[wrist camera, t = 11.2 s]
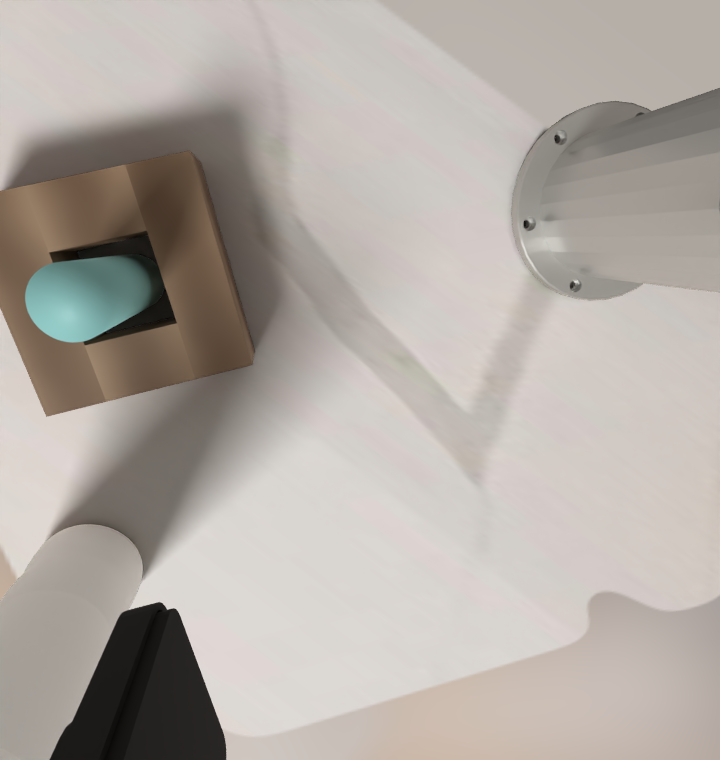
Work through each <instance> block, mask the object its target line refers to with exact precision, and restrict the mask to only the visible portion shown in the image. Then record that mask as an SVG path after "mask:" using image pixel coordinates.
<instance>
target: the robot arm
mask: <svg viewBox="0 0 720 760" xmlns="http://www.w3.org/2000/svg"><path fill="white" fill-rule="evenodd" d="M554 137H556V139H557V142H556V143H555V140H554ZM511 215H512V227H513V234H514V237H515V241H516V245H517V248H518V251H519V253H520V255H521V257H522V259H523V261H524V263H525V265H526V266H527V267H528V268H529V270H530V271H531V272H532V274H533V275H534V276H535V277H536V278H537V279H538V280H539V281H540V282H542V283H543V284H544V285H545V286H546V287H548V288H550V289H552V290H553V291H555V292H557V293H559V294H561V295H565V296H569V297H572V298H576V299H583V300H606V299H610V298H614V297H618V296H622V295H624V294H626V293H628V292H630V291H632V290H634V289H637V288H638V287H639V286H641V285H642V284H652V285H660V286H669V287H677V288H685V289H694V290H702V291H710V292H719V293H720V88H718V89H715V90H712V91H710V92H707V93H704V94H701V95H698V96H695V97H692V98H689V99H686V100H683V101H681V102H678V103H675V104H672V105H669V106H666V107H663V108H660V109H657V110H655V111H650V110H649V109H647V108H644V107H641V106H638V105H636V104H633V103H627V102H619V101H611V102H603V103H596V104H593V105H590V106H587V107H584V108H581V109H579V110H577V111H575V112H573V113H571V114H569V115H567V116H565V117H563V118H562V119H561V120H559V121H558V122H556V123H555V124H554V125H552V126H551V127H550V128H549V129H548V130H547V131H546V132H545V133H544V134H543V135H542V136H541V137H540V138H539V139H538V140H537V141H536V143H535V144H534V146H533V147H532V149H531V150H530V152H529V153H528V155H527V156H526V158H525V160H524V163H523V165H522V167H521V169H520V172H519V174H518V177H517V181H516V184H515V188H514V192H513V200H512V211H511ZM524 221H526V223H527V224H526V227H525V228H524V226H523V223H524ZM570 283H572V284H571V287H570ZM50 760H226V744H225V738H224V734H223V731H222V728H221V726H220V723H219V720H218V717H217V715H216V712H215V709H214V707H213V704H212V701H211V698H210V696H209V693H208V690H207V688H206V685H205V682H204V680H203V677H202V674H201V671H200V669H199V666H198V663H197V661H196V658H195V655H194V652H193V650H192V647H191V644H190V642H189V639H188V636H187V634H186V631H185V628H184V625H183V623H182V620H181V617H180V615H179V613H178V611H177V610H176V609H174V608H173V609H169V610H167V609H166V607H165V606H164V605H163V603H160V602H158V603H154V604H150V605H146V606H142V607H139V608H135V609H131V610H127V611H124V612H122V613H121V614H120V616H119V618H118V620H117V622H116V624H115V626H114V629H113V631H112V633H111V635H110V638H109V640H108V642H107V644H106V647H105V649H104V651H103V653H102V656H101V658H100V660H99V662H98V665H97V667H96V669H95V671H94V674H93V676H92V678H91V680H90V683H89V685H88V687H87V689H86V692H85V694H84V696H83V698H82V701H81V703H80V705H79V707H78V710H77V712H76V714H75V716H74V719H73V721H72V722H71V723H70V724H69V725H68V726H66V728H65V729H64V731H63V733H62V735H61V736H60V738H59V740H58V742H57V744H56V747H55V749H54V751H53V753H52V755H51V758H50Z"/></svg>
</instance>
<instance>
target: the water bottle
mask: <svg viewBox="0 0 720 760" xmlns="http://www.w3.org/2000/svg"><path fill="white" fill-rule="evenodd" d="M142 575H143V564H142V559H141V556H140V554H139V551H138V550H137V548H136V547H135V545H134V544H133V543H132V542H131V541H130V540H129V539H128V538H127V537H126V536H125V535H123V534H122V533H120V532H118V531H116V530H114V529H112V528H109V527H106V526H102V525H95V524H83V525H76V526H72V527H69V528H66V529H63V530H61V531H59V532H57V533H56V534H54V535H53V536H52V537H50V538H49V539H48V540H47V541H46V542H45V543H44V544H43V545H42V546H41V547H40V549H39V550H38V551H37V553H36V554H35V555H34V557H33V558H32V560H31V561H30V563H29V564H28V566H27V568H26V569H25V571H24V573H23V575H22V576H21V577H19V578H18V579H17V581H16V582H15V583H14V584H13V585H12V586H11V587H10V589H9V590H8V591H7V592H6V594H5V595H4V596H3V598H2V599H1V601H0V760H50V758H51V755H52V753H53V751H54V749H55V747H56V744H57V742H58V740H59V738H60V736H61V735H62V733H63V731H64V729H65V728H66V726H68V725H69V724H70V723H71V722H72V721H73V719H74V716H75V714H76V712H77V710H78V707H79V705H80V703H81V701H82V698H83V696H84V694H85V692H86V689H87V687H88V685H89V683H90V680H91V678H92V676H93V674H94V671H95V669H96V667H97V665H98V662H99V660H100V658H101V656H102V653H103V651H104V649H105V647H106V644H107V642H108V640H109V638H110V635H111V633H112V631H113V629H114V626H115V624H116V622H117V620H118V618H119V616H120V614H121V613H122V612H124V611H127V610H129V608H130V606H131V604H132V602H133V600H134V598H135V596H136V594H137V592H138V589H139V586H140V584H141V580H142Z"/></svg>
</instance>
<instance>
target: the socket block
mask: <svg viewBox="0 0 720 760" xmlns="http://www.w3.org/2000/svg"><path fill="white" fill-rule="evenodd" d="M145 235H148V236H149V239H150V242H151V245H152V248H153V251H154V255H155V258H156V261H157V264H158V267H159V270H160V273H161V276H162V279H163V282H164V285H165V288H166V291H167V294H168V297H169V300H170V303H171V306H172V309H173V313H174V316H175V317H173V318H169V319H165V320H161V321H157V322H153V323H148V324H144V325H140V326H136V327H132V328H128V329H123V330H119V331H115V332H111V333H107V332H106V331H105V332H103V333H101V334H99V335H98V336H96V337H94V338H92V339H90V340H87V341H83V342H64V341H60V340H57V339H55V338H52V337H50V336H49V335H47V334H45V333H44V332H43V331H42V330H40V329H39V328H38V327H37V326H36V324H35V323H34V322H33V320H32V319H31V317H30V315H29V313H28V310H27V307H26V302H25V293H26V288H27V285H28V282H29V281H30V279H31V277H32V276H33V275H34V274H35V273H36V272H37V271H38V270H39V269H41V268H42V267H44V266H46V265H48V264H51V263H56V262H63V261H72V260H80V259H79V257H78V254H77V251H79V250H83V249H88V248H92V247H97V246H101V245H105V244H110V243H114V242H119V241H123V240H128V239H132V238H136V237H141V236H145ZM0 308H1V310H2V313H3V315H4V318H5V320H6V322H7V325H8V327H9V329H10V332H11V334H12V336H13V339H14V341H15V343H16V346H17V348H18V351H19V353H20V355H21V358H22V360H23V362H24V365H25V367H26V369H27V372H28V374H29V377H30V379H31V381H32V384H33V386H34V388H35V391H36V393H37V395H38V398H39V400H40V403H41V405H42V407H43V410H44V412H45V414H46V417H47V416H51V415H55V414H59V413H63V412H67V411H71V410H75V409H79V408H83V407H87V406H91V405H95V404H99V403H103V402H107V401H111V400H115V399H119V398H122V397H126V396H130V395H134V394H138V393H142V392H146V391H150V390H154V389H158V388H162V387H166V386H170V385H174V384H178V383H182V382H186V381H190V380H194V379H198V378H202V377H206V376H210V375H214V374H218V373H222V372H226V371H230V370H234V369H238V368H242V367H246V366H249V365H252V363H253V358H254V353H255V350H254V346H253V343H252V340H251V336H250V333H249V329H248V326H247V322H246V319H245V315H244V312H243V308H242V305H241V301H240V298H239V294H238V291H237V287H236V284H235V281H234V277H233V274H232V270H231V267H230V263H229V260H228V256H227V253H226V249H225V246H224V242H223V239H222V235H221V232H220V228H219V225H218V222H217V218H216V215H215V211H214V208H213V204H212V201H211V197H210V194H209V190H208V187H207V183H206V180H205V176H204V173H203V170H202V166H201V163H200V161H199V160H198V159H197V158H196V157H195V156H194V155H193V154H192V153H191V152H190V151H185V152H181V153H176V154H171V155H167V156H162V157H157V158H153V159H148V160H143V161H138V162H134V163H129V164H124V165H120V166H115V167H110V168H106V169H101V170H96V171H92V172H87V173H82V174H77V175H73V176H68V177H63V178H59V179H54V180H49V181H45V182H40V183H35V184H31V185H26V186H21V187H16V188H12V189H7V190H2V191H0Z"/></svg>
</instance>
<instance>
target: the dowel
mask: <svg viewBox="0 0 720 760" xmlns="http://www.w3.org/2000/svg"><path fill="white" fill-rule="evenodd" d="M163 291H164V282H163V279H162V276H161V273H160V270H159V267H158V266H157V265H156V264H155V263H154V262H153V261H152V260H151V259H149V258H147V257H145V256H142V255H139V254H126V255H117V256H108V257H99V258H90V259H81V260H72V261H63V262H56V263H51V264H48V265H46V266H44V267H42V268H41V269H39V270H38V271H37V272H36V273H35V274H34V275H33V276H32V277H31V279H30V281H29V282H28V285H27V288H26V293H25V302H26V307H27V310H28V313H29V315H30V317H31V319H32V320H33V322H34V323H35V324H36V326H37V327H38V328H39V329H40V330H42V331H43V332H44V333H45V334H47V335H49V336H50V337H52V338H55V339H57V340H60V341H64V342H83V341H87V340H90V339H92V338H94V337H96V336H98V335H99V334H101V333H103V332H105V331H107V330H109V329H110V328H112V327H114V326H116V325H118V324H119V323H121V322H123V321H125V320H127V319H129V318H130V317H132V316H134V315H136V314H138V313H140V312H141V311H143V310H145V309H147V308H149V307H150V306H152V305H154V304H155V303H156V302H157V301H158V300H159V299H160V298H161V296H162V294H163Z"/></svg>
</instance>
